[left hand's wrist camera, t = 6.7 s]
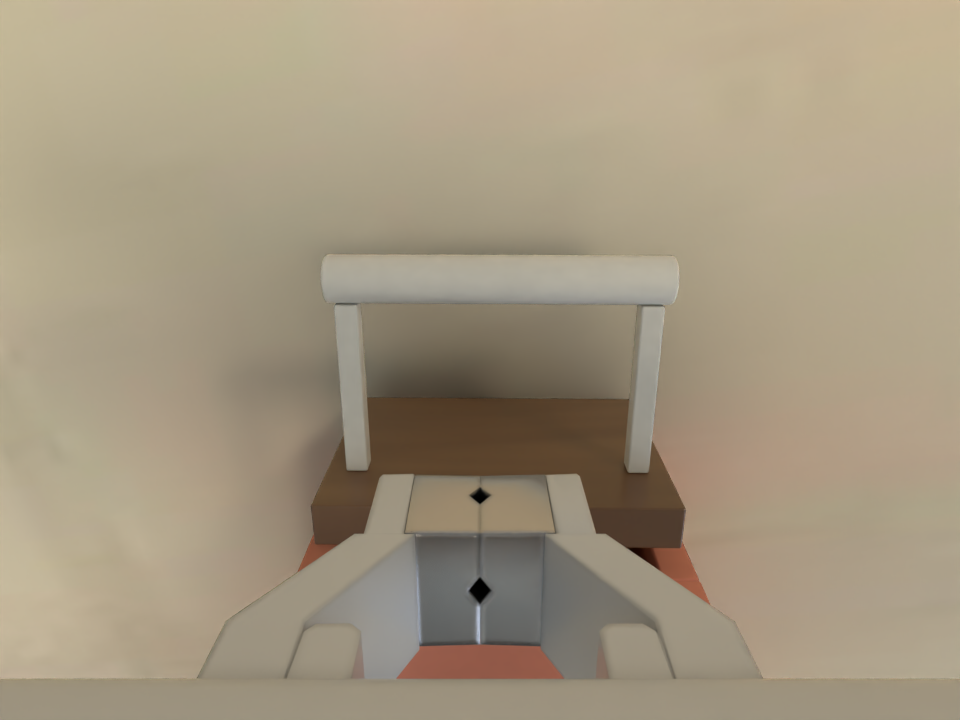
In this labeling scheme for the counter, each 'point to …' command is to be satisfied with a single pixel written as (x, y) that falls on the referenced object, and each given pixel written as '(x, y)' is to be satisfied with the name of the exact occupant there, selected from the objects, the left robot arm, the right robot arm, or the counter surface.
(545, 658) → the tall pink open box
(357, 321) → the drawer
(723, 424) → the counter surface
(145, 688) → the left robot arm
